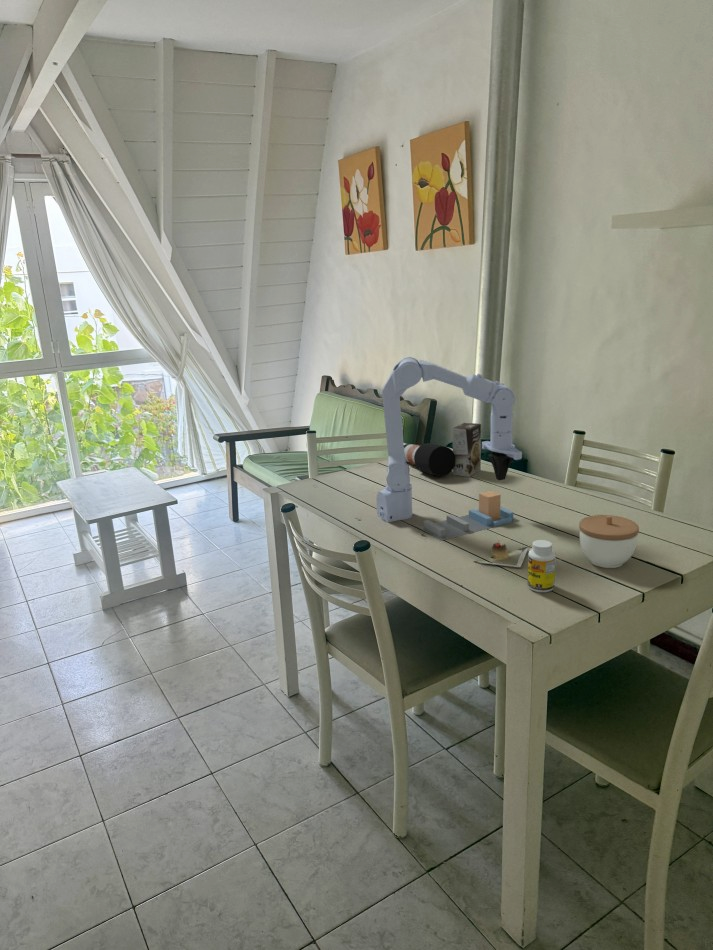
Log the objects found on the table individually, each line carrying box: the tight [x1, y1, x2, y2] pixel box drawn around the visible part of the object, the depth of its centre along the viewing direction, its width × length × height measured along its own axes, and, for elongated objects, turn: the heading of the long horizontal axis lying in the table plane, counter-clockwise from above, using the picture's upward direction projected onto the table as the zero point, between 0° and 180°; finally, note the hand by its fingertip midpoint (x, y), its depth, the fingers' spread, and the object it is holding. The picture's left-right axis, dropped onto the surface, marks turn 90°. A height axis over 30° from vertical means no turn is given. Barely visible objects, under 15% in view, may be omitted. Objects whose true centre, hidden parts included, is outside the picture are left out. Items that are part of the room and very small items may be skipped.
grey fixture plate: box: [417, 506, 520, 541], centre depth 177 cm, size 25×11×3 cm, turn 117°
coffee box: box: [452, 422, 482, 478], centre depth 221 cm, size 9×6×16 cm
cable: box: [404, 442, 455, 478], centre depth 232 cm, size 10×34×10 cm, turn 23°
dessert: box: [473, 539, 530, 568], centre depth 158 cm, size 12×12×5 cm
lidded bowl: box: [578, 514, 640, 569], centre depth 151 cm, size 13×13×11 cm
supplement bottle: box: [527, 539, 557, 593], centre depth 141 cm, size 6×6×10 cm
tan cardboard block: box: [478, 490, 501, 521], centre depth 179 cm, size 4×4×7 cm
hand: (500, 479), depth 181 cm, fingers closed
